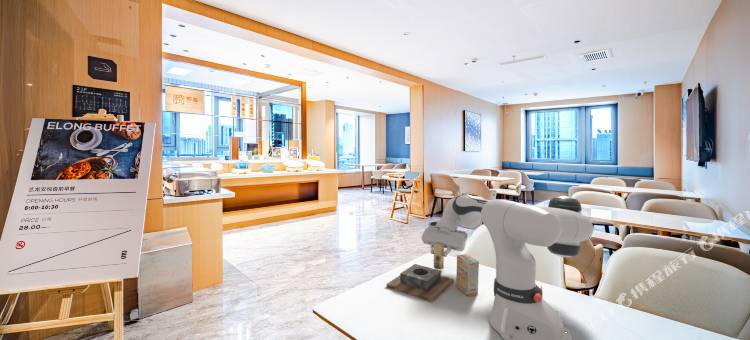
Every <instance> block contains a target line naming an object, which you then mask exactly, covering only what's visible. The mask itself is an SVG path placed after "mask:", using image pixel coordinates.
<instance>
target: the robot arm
mask: <svg viewBox="0 0 750 340" xmlns="http://www.w3.org/2000/svg"><path fill="white" fill-rule="evenodd" d="M582 209H583V208H582V205H581V203H580V201H579V200H578V199H576V198H573V197H572V196H568V195H560V196H556V197H553V198H551V199H550V200H549V202H548V205H547V206H535V205H532V204H531V205H530V204H526V203H522V202H517V201H512V200H509V199H501V198H500V199H499V198H498V199H490V200H489V199H483V198H479V197H475V196H473V195H470V194H466V193H465V194H460V195H458V196H456V197H453V198H450V199H449V200H448V201H447V203H446V204H445V207H444V209H443V212H442V217H441V218H440V220H435V221H429V222H428V224H427V225H428V226H427V227H426V228H425V229H424V231H423V233H422V235H421V241H422V243H423V244H425V245H429V246H430V254H431V255H434V243H435V242H440V243H444V249H446V250H444V251H443V254H442V256H443V257H444V258H447V257H448V254H450V253H451V251H452V250H453V251H458V252H463V251H464V250H465V247H466V241H467V239H468V237H469V235H468V233H467V232H466V231H465V230H463V231H462V230H458V229H459V226H460V227H462V228H466V229H469V230H471V229H476V228H478V227H479V226H480V225H481V224H483V225H484V226H485V227H486V230H487V231H488V233H489V235H490V238H491V241H492V244H493V248H494V253H495V278H494V279H493V280H494V281H493V296H494V298H493V300H494V301H493V305H492V311H491V312H490V313H491V314H490V316H489V319H488V321H489V325H490V327H492V328H493V329H494V330H495V331H496V332H497V333H498V334H499V335H500V337H501V339H503V340H572V339H573V337H572V334H571V332H570V330H569V328H567V327H566V326H564V324H563V320H562V317H561V314H560V313H559V312H558V310H556V309H555V308H554V307H553V306H551V305H550V304H549V303H548V302H547V301H546V300H545V299H543V286H538V285H537V284H536V270H537V269H536V268H537V267H536V266H537V264H536V259H535V257H534V255H533V253H532V252H531V251H529V249H528V247H527V245H530V246H531V245H532V246H537V247H545V248H546V247H547V250H548V251H549V252H550V253H551V254H554V255H555V256H558V257H560V258H571V257H575V256H577V255H579V254H580V250H581V242H585V241H588V240H589V239H590V238H591V237H592V235H593V233H594V225H593V222H592V220H590V218H588V216H586V215H584V214H582ZM565 332H567V333H565Z"/></svg>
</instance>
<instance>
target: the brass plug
mask: <svg viewBox="0 0 750 340" xmlns="http://www.w3.org/2000/svg"><path fill="white" fill-rule="evenodd" d="M433 249H434V254H433V269H436V270H443V269H444V258H445V257H443V256H442V254H443V251H444V252H445V250H444V249H445V248H444V243H440V242H435V243H434V247H433Z"/></svg>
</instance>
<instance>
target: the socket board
mask: <svg viewBox="0 0 750 340" xmlns="http://www.w3.org/2000/svg"><path fill="white" fill-rule="evenodd" d="M441 273H442V272H441V269H435V268H434V267H433V268H432V267H428V266H425V265H420V264H417V263H414V264H412V265H411V266H410V267H408V268H406V269H405V270H404V271H402V272H400V274H399V275H398V276H396V277H395V278H394V279H392V280H390V281H389V282H387V283H386V285H385V286H386V288H389V289H392V290H395V291H397V292H400V293H404V294H406V295H410V296H412V297H416V298H417V299H418V298H419V299H422V300H425V301H428V302H431V303H433V302H434V301H435V300H436V299H438V298H439V296H440V295H441V294H442V293H444V292H445V291H446V290H447V289H448V288H449V287H450V286H451V285H452V284H453V283H454V278H451V277H448V276H443V275H442V274H441Z"/></svg>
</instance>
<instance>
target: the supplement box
mask: <svg viewBox="0 0 750 340" xmlns="http://www.w3.org/2000/svg"><path fill="white" fill-rule="evenodd" d="M479 266H480V261H479V260H477V259H475V258H474V257H472V256H470V255H469V254H467V253H465V254H464V253H463V254H456V279H455V280H456V284H455V285H456V287H457V288H458V289H459V290H460V291H462V292H464V294H465V295H466V296H473V295H474V296H475V295H478V294H479V272H480V271H479V270H480V269H479V268H480V267H479Z"/></svg>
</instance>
